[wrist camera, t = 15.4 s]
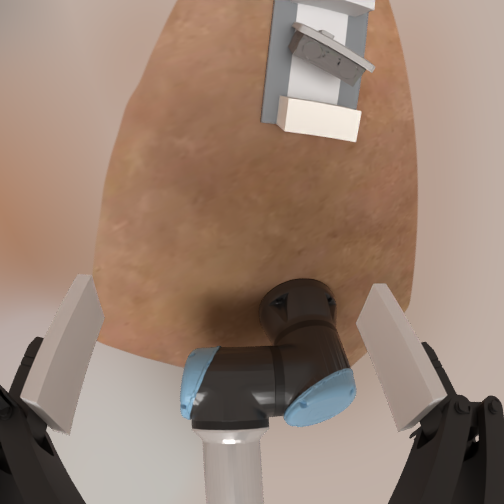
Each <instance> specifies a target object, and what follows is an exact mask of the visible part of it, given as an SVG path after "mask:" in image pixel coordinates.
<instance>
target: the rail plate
mask: <svg viewBox="0 0 504 504" xmlns="http://www.w3.org/2000/svg"><path fill="white" fill-rule="evenodd" d="M374 7H375V0H274V4H273V13H272V22H271V30H270V39H269V48H268V57H267V66H266V75H265V84H264V93H263V103H262V112H261V122H262V123H273V124H277V125H278V126H279V127H280V128H281V129H282V130H284V131H285V132H294V133H302V134H309V135H316V136H323V137H329V138H335V139H341V140H347V141H352V142H356V139H357V134H358V129H359V123H360V117H361V111H358V110H356V108H357V102H358V96H359V89H360V82H361V77H360V78H359V79H358V80H357V82H356V83H355V85H354V86H353V87H352V86H350V85H349V84H347V83H345V82H344V81H342V80H340V79H339V78H337V77H335V76H333V75H331V74H330V73H328V72H326V71H324V70H322V69H321V68H319V67H317V66H315V65H313V64H311V63H309V62H307V61H305V60H303V59H301V58H299V57H297V56H295V55H293V54H294V53H295V52H294V53H293V54H292V52H291V51H290V49H289V47H288V45H289V43H290V42H291V39H292V37H293V35H294V33H295V32H296V30H297V29H295V28H294V27H292V25H293V23H294V22H299V23H302V24H304V25H307V26H309V27H311V28H313V29H314V30H316V31H320V30H325V31H327V32H329V33H331V34H332V35H334V36H335V37H334V39H333V40H335V41H337V42H339V43H341V44H343V45H344V46H346V47H348V48H349V49H351V50H352V51H353V52H355V53H357V54H358V55H360V56H361V57H363V58H364V52H365V44H366V34H367V24H368V13H369V12H370V11H373V10H374ZM295 51H296V50H295Z"/></svg>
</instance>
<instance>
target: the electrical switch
mask: <svg viewBox="0 0 504 504" xmlns="http://www.w3.org/2000/svg"><path fill="white" fill-rule="evenodd" d="M292 27H294V28H295V29H297V30H296V32H295V33H294V35H293V37H292V39H291V42H290V43H289V45H288V47H289V49H290V51H291V52H292V54H293V53H294V52H295V53H294V54H293V55H295V56H297V57H299V58H301V59H303V60H305V61H307V62H309V63H311V64H313V65H315V66H317V67H319V68H321V69H322V70H324V71H326V72H328V73H330V74H331V75H333V76H335V77H337V78H339V79H340V80H342V81H344V82H345V83H347V84H349V85H350V86H352V87H353V86H354V85H355V83H356V82H357V80H358V79H359V78H360V77H361V76H362V74H363V73H364V72H365V70H366V69H367V70H368V71H370V72H371V73H372V72H373V70H374V69H375V66H374V65H372V64H371V63H370V62H369V61H368V60H366V59H365V58H363V57H361V56H360V55H358V54H357V53H355V52H353V51H352V50H351V49H349V48H348V47H346V46H344V45H343V44H341V43H339V42H337V41H335V40H333V39H334V37H335V36H334V35H332V34H331V33H329V32H327V31H325V30H320V31H316V30H314V29H313V28H311V27H309V26H307V25H304V24H302V23H299V22H294V23H293V25H292ZM295 50H296V51H295Z"/></svg>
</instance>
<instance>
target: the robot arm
mask: <svg viewBox="0 0 504 504" xmlns="http://www.w3.org/2000/svg"><path fill="white" fill-rule="evenodd" d="M336 314H337V306H336V301H335V299H334V296H333V294H332V292H331V290H330V289H329V288H328V287H327V286H326V285H325V284H323V283H321V282H319V281H316V280H311V279H298V280H292V281H288V282H285V283H283V284H281V285H279V286H277V287H275V288H274V289H272V290H271V291H270V292H269V293H268V294H267V295H266V296H265V297H264V299H263V300H262V302H261V304H260V307H259V317H260V323H261V326H262V329H263V330H264V332H265V333H266V335H267V337H268V338H269V340H270V341H271V343H272V345H273V346H255V347H221V346H217V347H211V348H197V349H195V350H193V351H192V352H191V353H190V355H189V356H188V358H187V361H186V364H185V367H184V372H183V377H182V384H181V393H180V402H181V409H180V410H181V414H182V416H183V417H184V418H186V419H188V420H190V419H192V430H193V431H194V432H195V433H196V434H197V435H198V436H199V437H200V438H201V439H202V441H203V459H204V475H205V489H206V501H207V504H264V500H263V485H262V468H261V452H260V438H261V437H262V435H263V434H264V433H265V432H266V431H267V430H268V429H269V417H275V416H284V420H285V421H286V423H287V424H288V425H290V426H297V427H303V426H309V425H313V424H317V423H320V422H323V421H325V420H327V419H330V418H332V417H334V416H335V415H337V414H339V413H340V412H342V411H343V410H345V409H346V408H347V407H348V406H349V405H350V404H351V402H352V401H353V400H354V398H355V396H356V385H355V381H354V377H353V371H352V369H351V368H350V365H349V362H348V359H347V357H346V354H345V351H344V348H343V346H342V343H341V340H340V338H339V335H338V332H337V330H336ZM104 318H105V317H104V314H103V311H102V308H101V305H100V302H99V298H98V295H97V292H96V288H95V285H94V281H93V277H92V275H86V274H78V275H77V277H76V278H75V280H74V281H73V283H72V285H71V287H70V289H69V290H68V292H67V294H66V296H65V298H64V300H63V301H62V303H61V305H60V307H59V309H58V311H57V313H56V315H55V317H54V319H53V321H52V323H51V325H50V327H49V329H48V331H47V333H46V335H45V337H44V338H41V337H36V338H35V339H34V340H33V341H32V342H31V343H30V344H29V346H28V348H27V350H26V352H25V354H24V357H23V359H22V361H21V365H20V366H19V368H18V371H17V373H16V375H15V378H14V380H13V383H12V385H11V388H10V391H9V393H8V392H7V391H6V390H5V389H4V388H3V387H2V386H1V385H0V504H86V503H85V501H84V500H83V498H82V497H81V495H80V493H79V492H78V490H77V489H76V487H75V485H74V483H73V482H72V480H71V478H70V477H69V475H68V473H67V471H66V469H65V468H64V466H63V464H62V462H61V460H60V458H59V456H58V454H57V452H56V450H55V448H54V445H53V443H52V441H51V439H50V437H49V435H48V433H47V432H46V428H47V425H48V426H49V427H50V428H51V429H53V431H56V432H59V433H62V434H66V435H70V431H71V426H72V422H73V417H74V414H75V410H76V406H77V402H78V399H79V395H80V391H81V388H82V384H83V381H84V378H85V374H86V371H87V368H88V365H89V362H90V358H91V355H92V352H93V349H94V346H95V343H96V341H97V338H98V335H99V332H100V329H101V327H102V324H103V321H104ZM356 325H357V327H358V330H359V332H360V334H361V337H362V339H363V341H364V344H365V346H366V348H367V351H368V353H369V356H370V358H371V360H372V363H373V366H374V368H375V370H376V373H377V375H378V378H379V381H380V383H381V386H382V388H383V391H384V394H385V396H386V399H387V402H388V404H389V407H390V410H391V412H392V415H393V418H394V421H395V423H396V427H397V429H398V432H400V431H403V430H406V429H409V428H412V427H413V426H415V425H416V424H417V423H418V422H419V421H420V424H421V427H419V428H418V429H417V430H416V431H414V432H413V433H412V434H411V435H410V437H409V438H412V437H413V436H415V435H416V437H415V439H414V443H413V446H412V449H411V452H410V454H409V457H408V459H407V462H406V465H405V467H404V469H403V472H402V474H401V476H400V479H399V481H398V483H397V485H396V488H395V490H394V492H393V494H392V496H391V498H390V500H389V503H388V504H504V415H503V408H502V404H501V402H500V401H499V399H498V398H496V397H495V396H488V397H487V398H486V399H484V400H483V401H482V402H470V401H469V400H468V399H467V398H466V397H464V396H463V395H457V394H456V392H455V390H454V388H453V386H452V384H451V382H450V380H449V378H448V376H447V374H446V373H445V370H444V369H443V368H442V365H441V363H440V361H438V357H437V355H436V354H435V352H434V350H433V349H432V348H431V347H430V346H429V345H428V344H427V343H426V342H422V343H421V342H420V341H419V339H418V337H417V335H416V333H415V332H414V330H413V328H412V326H411V325H410V323H409V321H408V319H407V318H406V316H405V314H404V312H403V311H402V309H401V307H400V306H399V304H398V302H397V301H396V299H395V298H394V296H393V294H392V293H391V291H390V289H389V288H388V286H387V285H386V284H373V285H372V288H371V290H370V292H369V295H368V297H367V299H366V302H365V304H364V306H363V308H362V311H361V313H360V315H359V317H358V320H357V322H356ZM477 435H479V441H477V442H476V440H475V437H476V436H477Z"/></svg>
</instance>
